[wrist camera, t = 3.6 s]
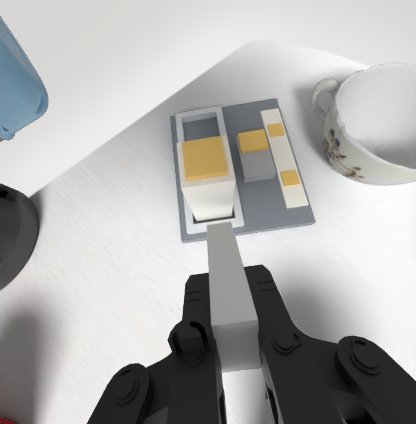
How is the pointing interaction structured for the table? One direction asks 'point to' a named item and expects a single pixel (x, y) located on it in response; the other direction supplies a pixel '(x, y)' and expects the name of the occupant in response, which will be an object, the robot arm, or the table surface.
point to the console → (247, 168)
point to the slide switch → (207, 177)
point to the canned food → (5, 421)
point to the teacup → (372, 124)
